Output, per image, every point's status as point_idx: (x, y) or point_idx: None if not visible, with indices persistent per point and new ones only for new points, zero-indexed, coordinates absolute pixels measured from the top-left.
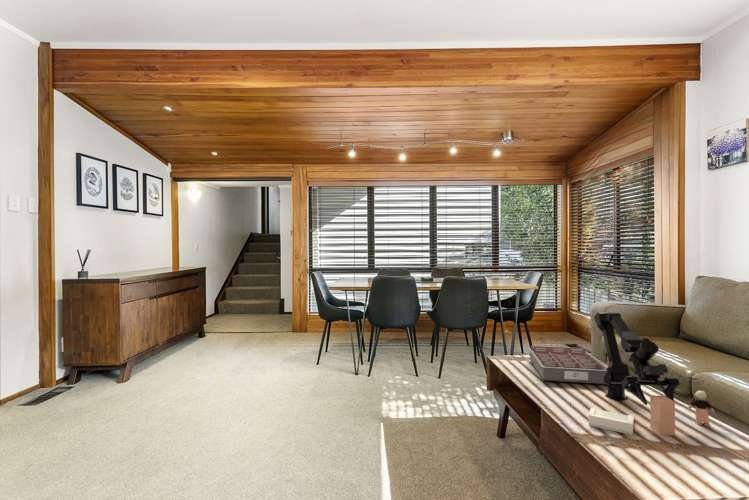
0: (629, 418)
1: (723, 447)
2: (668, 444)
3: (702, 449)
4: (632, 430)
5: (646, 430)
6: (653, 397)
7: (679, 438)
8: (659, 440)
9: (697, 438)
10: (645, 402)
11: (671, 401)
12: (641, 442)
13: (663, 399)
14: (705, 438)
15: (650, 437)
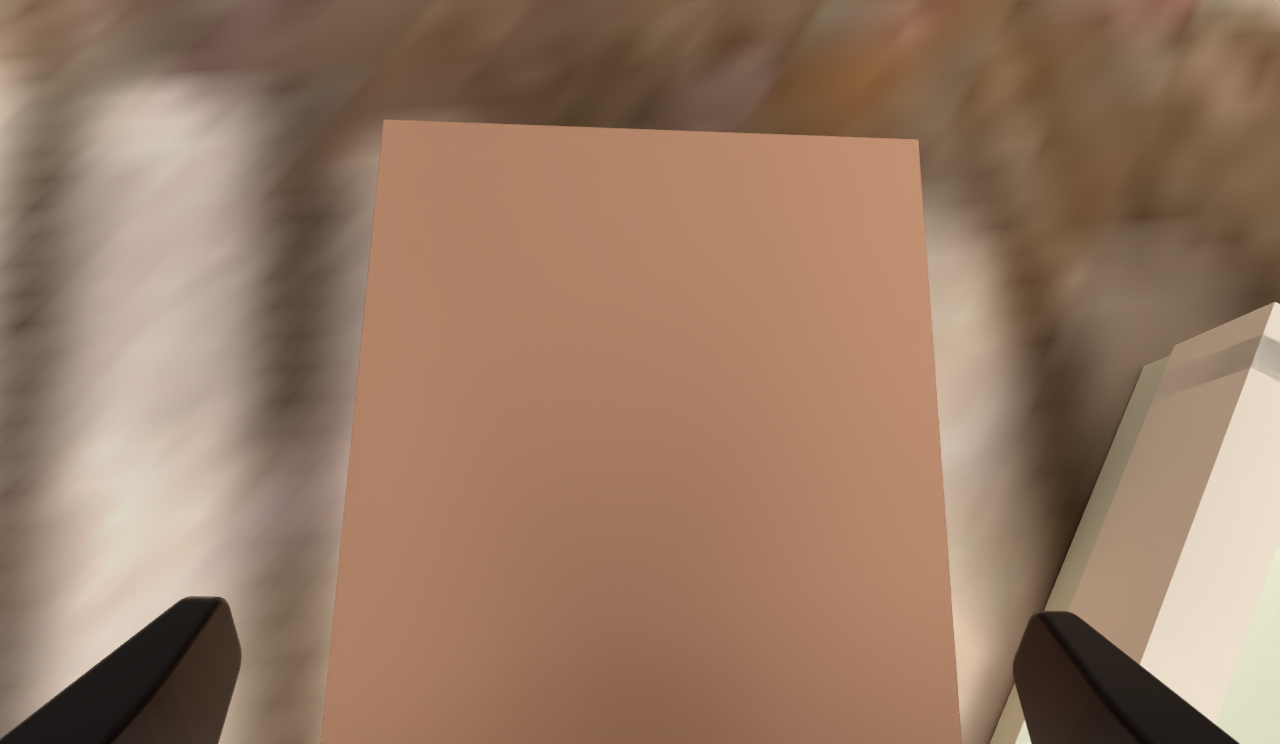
0: (1245, 562)
1: (92, 90)
2: (784, 124)
3: (427, 25)
4: (1196, 338)
5: None
6: (945, 565)
7: None
8: None
9: (234, 329)
10: (1094, 636)
11: (479, 160)
12: (1111, 155)
13: (662, 344)
14: (107, 338)
15: None
